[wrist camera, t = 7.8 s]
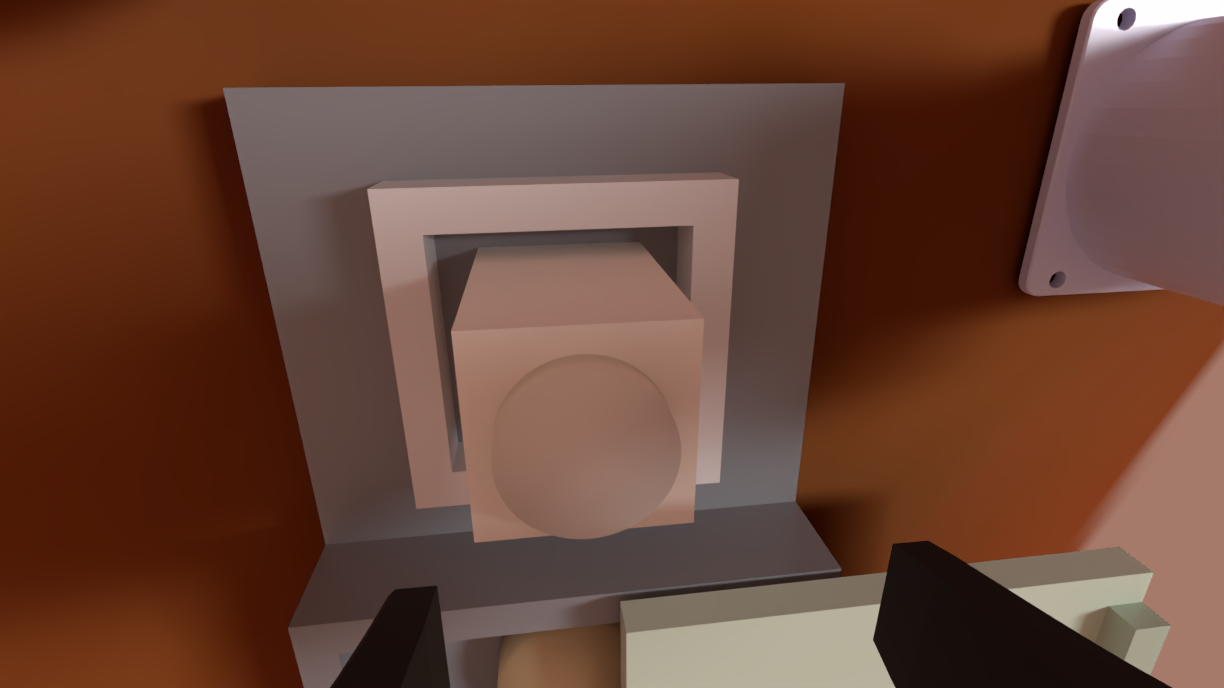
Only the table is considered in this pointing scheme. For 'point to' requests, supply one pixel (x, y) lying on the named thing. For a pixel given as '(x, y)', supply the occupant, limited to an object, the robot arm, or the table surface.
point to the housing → (423, 352)
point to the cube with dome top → (576, 391)
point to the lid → (864, 624)
